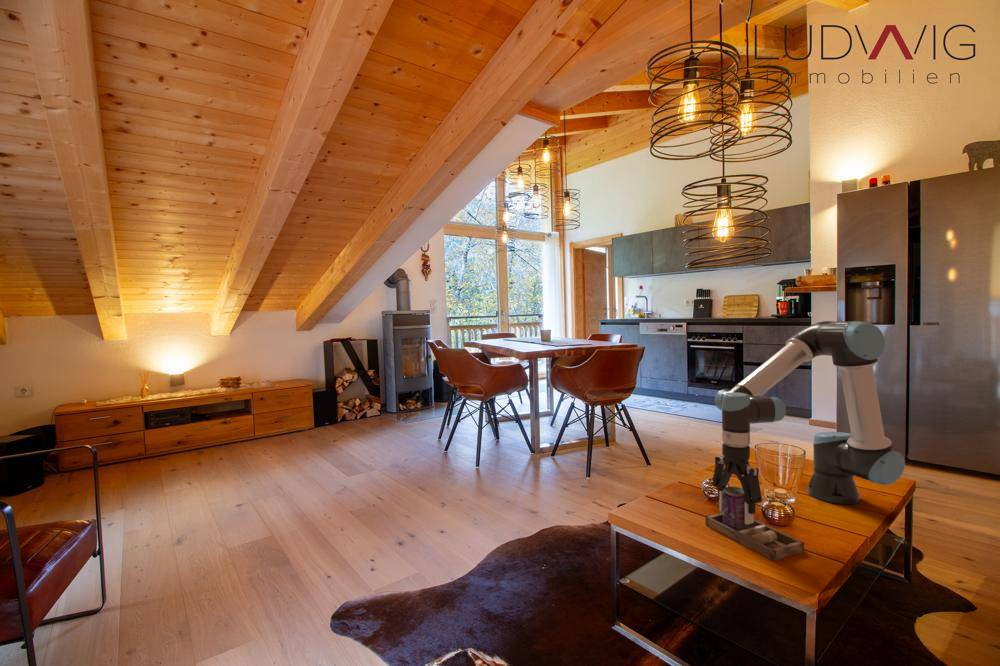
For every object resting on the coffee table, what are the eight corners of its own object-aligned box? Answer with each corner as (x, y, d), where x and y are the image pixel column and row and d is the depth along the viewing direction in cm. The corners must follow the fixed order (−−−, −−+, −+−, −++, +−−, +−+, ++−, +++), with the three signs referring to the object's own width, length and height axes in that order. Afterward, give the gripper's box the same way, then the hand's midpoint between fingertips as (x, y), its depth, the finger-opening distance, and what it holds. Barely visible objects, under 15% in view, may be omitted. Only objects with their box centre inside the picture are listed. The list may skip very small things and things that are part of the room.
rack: (733, 520, 148) (733, 510, 148) (803, 554, 127) (804, 542, 127) (705, 527, 144) (705, 516, 144) (773, 564, 122) (773, 551, 122)
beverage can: (726, 520, 145) (725, 484, 144) (751, 526, 141) (750, 488, 140) (720, 530, 140) (719, 492, 139) (746, 537, 135) (745, 498, 134)
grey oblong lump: (774, 543, 132) (766, 534, 135) (779, 537, 131) (770, 528, 133) (756, 548, 130) (748, 539, 132) (761, 542, 128) (753, 532, 131)
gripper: (699, 437, 148) (699, 505, 149) (758, 455, 128) (758, 534, 129) (716, 434, 150) (717, 501, 151) (777, 451, 131) (776, 529, 132)
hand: (736, 516), depth 140 cm, fingers open, 8 cm apart
